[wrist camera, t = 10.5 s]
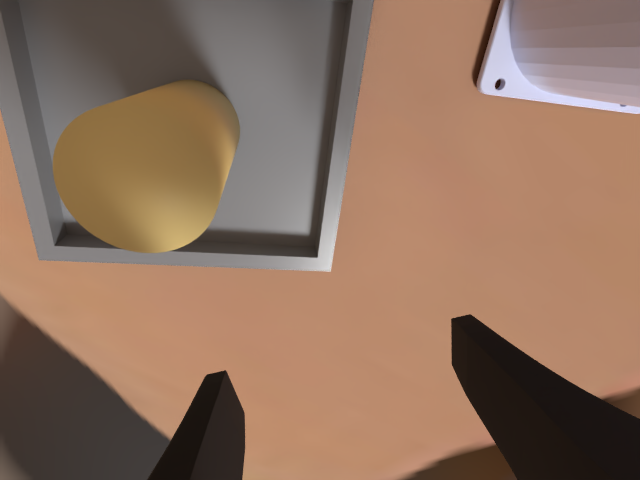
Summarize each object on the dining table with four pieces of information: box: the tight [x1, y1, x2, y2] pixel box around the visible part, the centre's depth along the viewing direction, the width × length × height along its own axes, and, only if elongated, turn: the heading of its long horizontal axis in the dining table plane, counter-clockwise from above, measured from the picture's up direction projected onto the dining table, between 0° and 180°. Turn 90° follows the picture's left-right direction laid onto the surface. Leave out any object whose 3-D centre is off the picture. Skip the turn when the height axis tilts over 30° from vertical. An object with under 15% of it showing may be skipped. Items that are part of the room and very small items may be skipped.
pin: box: [53, 80, 240, 253], centre depth 13 cm, size 4×4×8 cm
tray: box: [0, 0, 374, 271], centre depth 16 cm, size 14×13×2 cm
